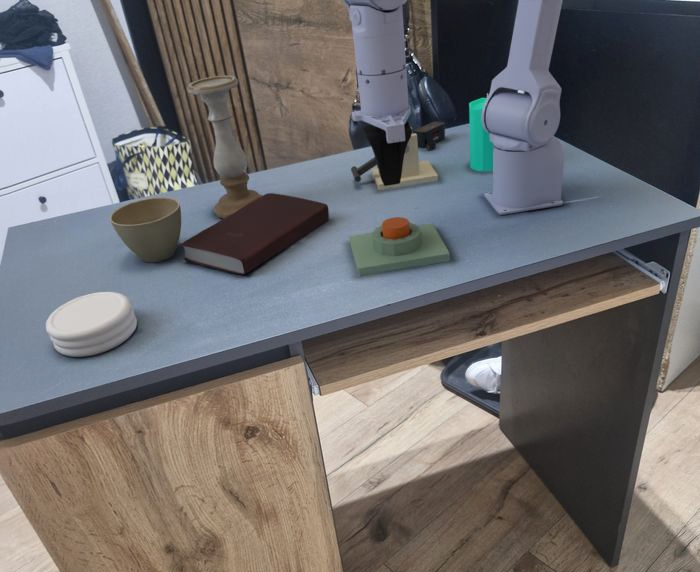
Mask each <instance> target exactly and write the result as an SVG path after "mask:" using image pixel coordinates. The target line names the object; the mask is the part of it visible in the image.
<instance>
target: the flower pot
mask: <svg viewBox="0 0 700 572" xmlns="http://www.w3.org/2000/svg"><path fill="white" fill-rule="evenodd" d="M180 203H181V202H180V201H179V200H177V199H176V198H173V197H168V196H156V197H149V198H143V199H138V200H135V201H132V202H129V203H126V204H124V205H122V206H120V207H118V208H116V209H115V210H114V211H113V212H111V214H110V215H109V222H110V223H111V225H112V227H113V229H114V231H115V232H116V234H117V236H118V237H119V238H120V240H121V241H122V242H123V243H124V245H125V247H127V248H128V250H130V251H131V253H133V254H134V255H135V256H136V257H137V258H139V259H140V260H141V261H143V262H146V263H158V262H163V261H166V260H168V259H170V258H172V257H174V255H175V254H176V251H177V249H178V245H179V242H180V237H181V231H182V208H181V204H180Z"/></svg>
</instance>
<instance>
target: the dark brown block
mask: <svg viewBox="0 0 700 572" xmlns="http://www.w3.org/2000/svg"><path fill="white" fill-rule="evenodd" d="M445 125H446V124H445V122H444V121H443V122H441V121H432V122H430V123H428V124H426V125H423V126H421V127H419V128H416V129H414V131H413V132H414V134H415V133H416V134H417V142H418V148H420V149H426V150H427V151H431V150H433V149H435V148H436V147H437V144H438V143H440V142H442V141H444V140H445V139H446V126H445Z"/></svg>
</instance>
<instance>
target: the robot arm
mask: <svg viewBox="0 0 700 572" xmlns="http://www.w3.org/2000/svg"><path fill="white" fill-rule="evenodd" d="M341 1H342V2H343V4H344V5H345V6H346V8H347V11H348V17H349V22H351V29H352V40H353V49H354V58H355V59H354V60H355V68H356V77H357V85H358V95H359V104H360V109H359V110H355V111H352V112H351V114H350V115H351V119H352V121H353V122H359V121H361V122H364V123H367V125H365V126H363V127H362V128H361V131H362V133H363V135H364V136H365V139H366V140H367V141H368V143H369V145H370V147H371V149H372V153H373V155H374V157H375V159H376V163H377V165H376V166H377V167H376V168H378V170H379V174H380V177H381V180H382V182H383V184H384V186H388V185H394V184H399V183H400V181H401V175H402V167H403V160H404V154H405V150H406V147H407V144H408V142H409V140H410V137H411V135H412V133H413V128H412V129H411V127H412V126H410V122H409V121H408V119H409V117H410V116H411V113H412V108H411V105H410V103H409V88H408V73H407V58H406V42H405V41H406V40H405V28H404V27H405V26H404V13H403V10H404V9H403V5H405V4H406V3H407V2H408V0H341ZM562 5H563V0H518V2H517V9H516V14H515V18H514V19H515V20H514V26H513V31H512V38H511V42H510V48H509V54H508V60H507V65H506V67H505V68H503V70H502V71H501V72H499V73H498V74H497V75H495V76H494V77H493V79H492V80H491V84H490V90H489V93H488V97H487V96H486V98H487V99H486V101H485V103H484V106H483V109H482V114H481V120H482V125H483V128H484V129H485V131H486V132H487V133H489V134H490V142H493V171H492V191H490V192H485V193H484V195H483V196H484V198H485V200H486V201H488V203H489V204H490V205H491V207H492V208H493V209H494V210H495V212H496V213H497V214H498V215H500V216H501V215H502V216H503V215H508V214H509V215H510V214H515V213H522V212H528V211H535V210H541V209H547V208H553V207H559V206H563V204H564V201H563V200H562V195H563V194H562V191H563V176H564V165H565V164H564V163H565V162H564V157H565V156H564V150H563V146H562V143H561V142H560V140H559V138H557V137H555V135H556V133H557V131H558V128H559V125H560V121H561V105H560V100H561V96H562V95H561V94H562V87H561V85H560V84H559V83H558V82H557V80H556V79H555V77H553V75H552V73H551V72H550V71H549V69H550V64H551V59H552V55H553V49H554V45H555V41H556V34H557V30H558V25H559V20H560V15H561V10H562ZM518 91H521V92H518ZM524 92H525V93H524Z"/></svg>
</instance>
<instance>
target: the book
mask: <svg viewBox="0 0 700 572" xmlns="http://www.w3.org/2000/svg"><path fill="white" fill-rule="evenodd" d="M262 195H263V194H262ZM329 217H330V213H329V206H328V204H326V203H325V202H320V201H316V200H312V199H307V198H304V197H303V198H302V197H297V196H292V195H287V194H281V193H273V192H269V193H265V194H264V195H263V196H261V197H260V198H258V199H256V200H254V201H253V202H251V203H249V204H247V205H246V206H244V207H242V208H241V209H239V210H238V211H236V212H234V213H233V214H231V215H229V216H227V217H226V218H224V219H223V218H221V220H219V221H218V222H216V223H213V225H211V226H209V227H206V228H205V229H203V230H201V231H200V232H198V233H196V234H195V235H193V236H191V237H189V238H188V239H186V240H185V241H183V242H182V243H181V244H180V247H183V249H184V257H183V261H185V262H188V263H192V264H195V265H198V266H204V267H207V268H212V269H215V270H220V271H224V272H228V273H232V274H237V275H242V276H244V275H246V274H247V273H250V272H251V271H253V270H254V269H256V268H257V267H258V266H260V265H262V264H263V263H265V262H266V261H267V260H269V259H271V258H272V257H274V256H275V255H277V254H279V253H280V252H282V251H284V250H285V249H286V248H287V247H289V246H291V245H292V244H294V243H295V242H297V241H299V240H300V239H302V238H303V237H305V236H306V235H308V234H310V233H311V232H313V231H314V230H316V229H317V228H319V227H320V226H322V225H323V224H325V223H326V222H328V220H329Z"/></svg>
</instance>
